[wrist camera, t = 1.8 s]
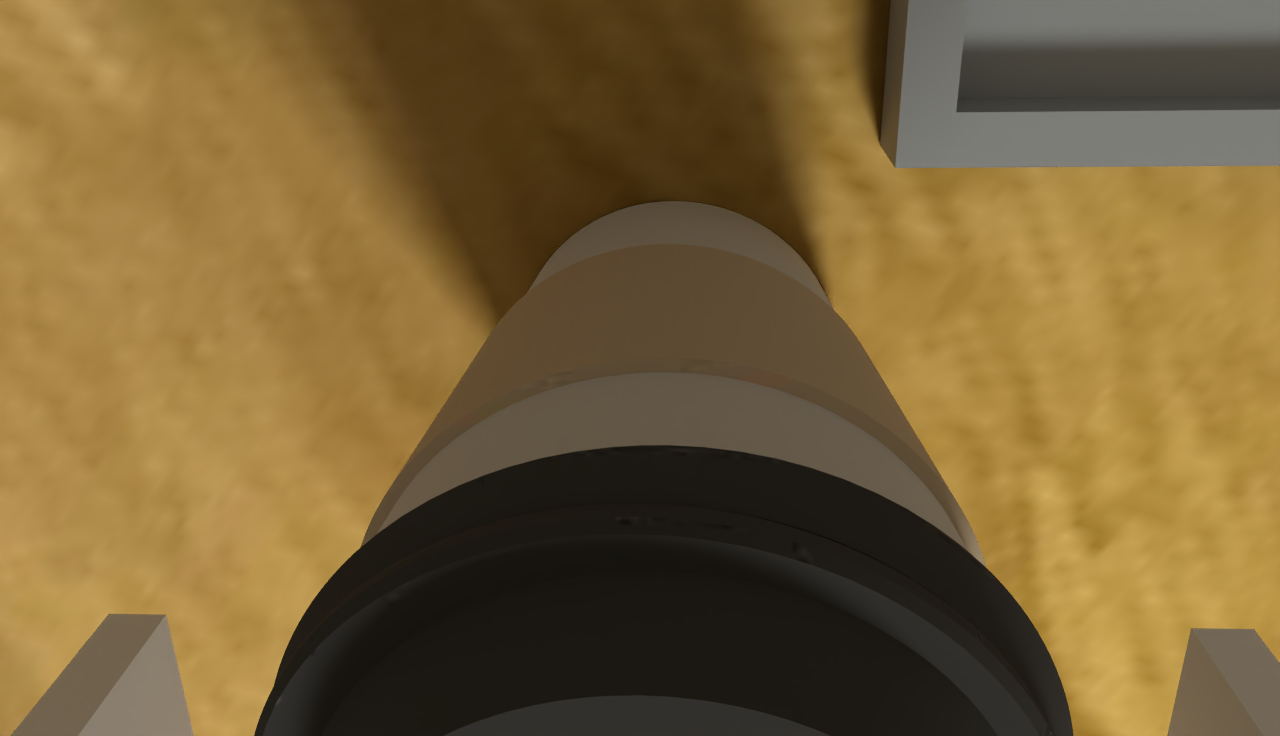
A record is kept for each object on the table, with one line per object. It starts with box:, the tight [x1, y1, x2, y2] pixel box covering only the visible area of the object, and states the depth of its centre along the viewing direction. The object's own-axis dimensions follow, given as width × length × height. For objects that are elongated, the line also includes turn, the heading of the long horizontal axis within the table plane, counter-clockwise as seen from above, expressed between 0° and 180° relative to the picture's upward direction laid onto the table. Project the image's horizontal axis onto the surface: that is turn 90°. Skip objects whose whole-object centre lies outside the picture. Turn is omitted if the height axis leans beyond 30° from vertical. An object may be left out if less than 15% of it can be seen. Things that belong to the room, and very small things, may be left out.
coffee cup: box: [254, 201, 1073, 736], centre depth 17 cm, size 9×9×15 cm
